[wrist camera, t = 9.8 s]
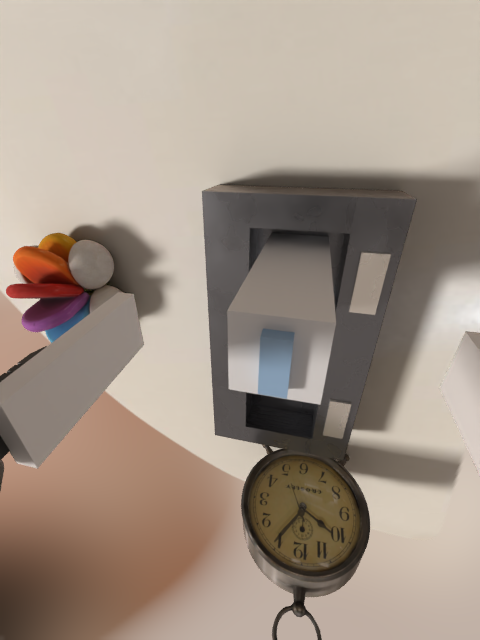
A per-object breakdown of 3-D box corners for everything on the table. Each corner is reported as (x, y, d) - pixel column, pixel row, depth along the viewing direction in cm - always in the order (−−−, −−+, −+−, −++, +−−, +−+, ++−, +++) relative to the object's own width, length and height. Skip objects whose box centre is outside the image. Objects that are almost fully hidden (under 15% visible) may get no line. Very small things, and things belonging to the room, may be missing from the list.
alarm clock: (361, 447, 31) (394, 689, 17) (353, 479, 33) (375, 711, 20) (255, 429, 33) (209, 630, 19) (255, 460, 36) (215, 656, 22)
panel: (218, 184, 21) (200, 191, 18) (401, 190, 19) (417, 199, 16) (225, 407, 32) (214, 436, 29) (341, 428, 30) (343, 462, 27)
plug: (271, 233, 22) (222, 318, 11) (329, 236, 21) (337, 331, 10) (268, 284, 24) (224, 398, 13) (321, 289, 23) (320, 415, 12)
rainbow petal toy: (108, 222, 25) (38, 247, 19) (145, 323, 29) (98, 370, 23) (30, 234, 27) (-54, 260, 21) (75, 326, 32) (16, 369, 26)
